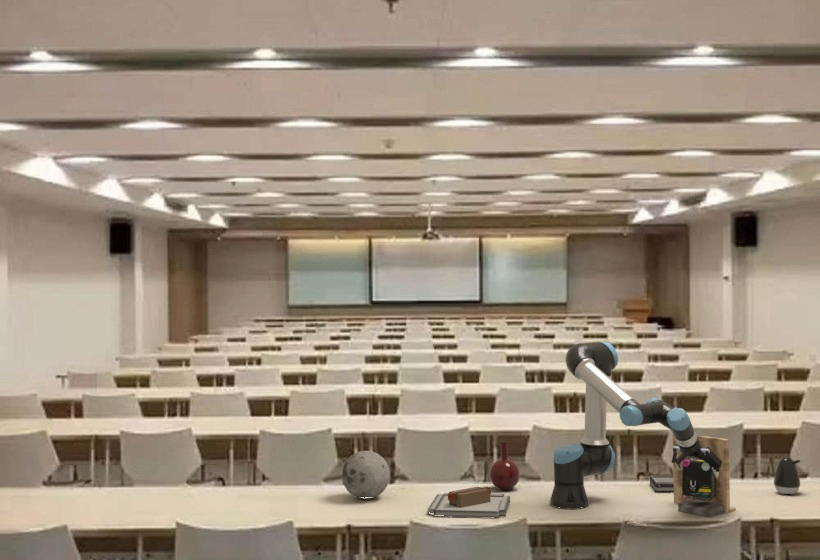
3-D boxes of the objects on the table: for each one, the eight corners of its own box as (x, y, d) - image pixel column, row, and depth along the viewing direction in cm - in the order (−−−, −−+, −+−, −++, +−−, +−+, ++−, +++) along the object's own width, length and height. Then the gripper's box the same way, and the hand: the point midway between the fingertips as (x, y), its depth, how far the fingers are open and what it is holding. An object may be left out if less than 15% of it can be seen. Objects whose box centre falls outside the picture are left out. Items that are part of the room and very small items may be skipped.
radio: (655, 481, 420) (648, 471, 440) (655, 493, 421) (648, 483, 440) (715, 481, 418) (705, 471, 438) (715, 493, 418) (705, 483, 438)
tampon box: (682, 498, 385) (681, 460, 385) (687, 493, 393) (687, 456, 393) (711, 501, 379) (710, 462, 379) (716, 496, 388) (716, 458, 387)
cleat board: (658, 506, 396) (657, 436, 396) (682, 500, 406) (681, 431, 406) (712, 517, 378) (710, 443, 378) (735, 510, 388) (734, 438, 388)
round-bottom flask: (483, 490, 432) (482, 444, 432) (501, 484, 442) (500, 439, 442) (508, 494, 424) (507, 447, 424) (526, 488, 434) (525, 442, 434)
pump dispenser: (798, 497, 408) (797, 460, 407) (771, 494, 413) (771, 457, 413) (803, 492, 416) (802, 455, 416) (776, 489, 422) (776, 453, 422)
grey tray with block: (505, 520, 383) (504, 500, 383) (427, 518, 388) (426, 498, 388) (510, 501, 413) (510, 483, 413) (438, 500, 418) (437, 482, 418)
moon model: (391, 493, 431) (390, 446, 430) (388, 503, 411) (387, 455, 410) (344, 493, 431) (343, 447, 431) (340, 504, 411) (339, 455, 411)
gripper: (653, 445, 381) (669, 478, 393) (717, 451, 367) (730, 485, 379) (658, 429, 385) (673, 462, 397) (721, 434, 371) (734, 468, 384)
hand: (701, 473), depth 388 cm, fingers open, 12 cm apart
